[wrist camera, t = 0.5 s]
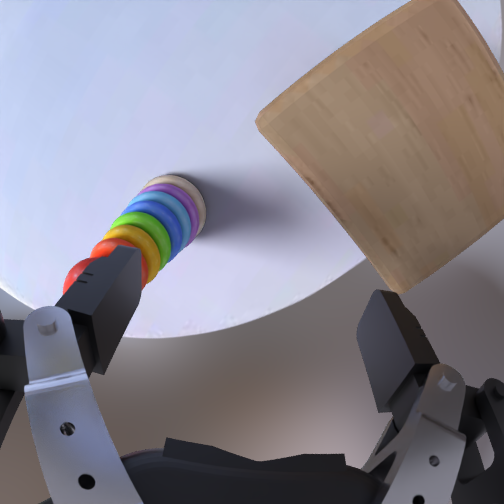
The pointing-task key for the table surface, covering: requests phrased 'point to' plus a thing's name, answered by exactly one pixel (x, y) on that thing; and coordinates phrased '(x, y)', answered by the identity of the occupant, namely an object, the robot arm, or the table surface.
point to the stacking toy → (153, 226)
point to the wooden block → (401, 138)
